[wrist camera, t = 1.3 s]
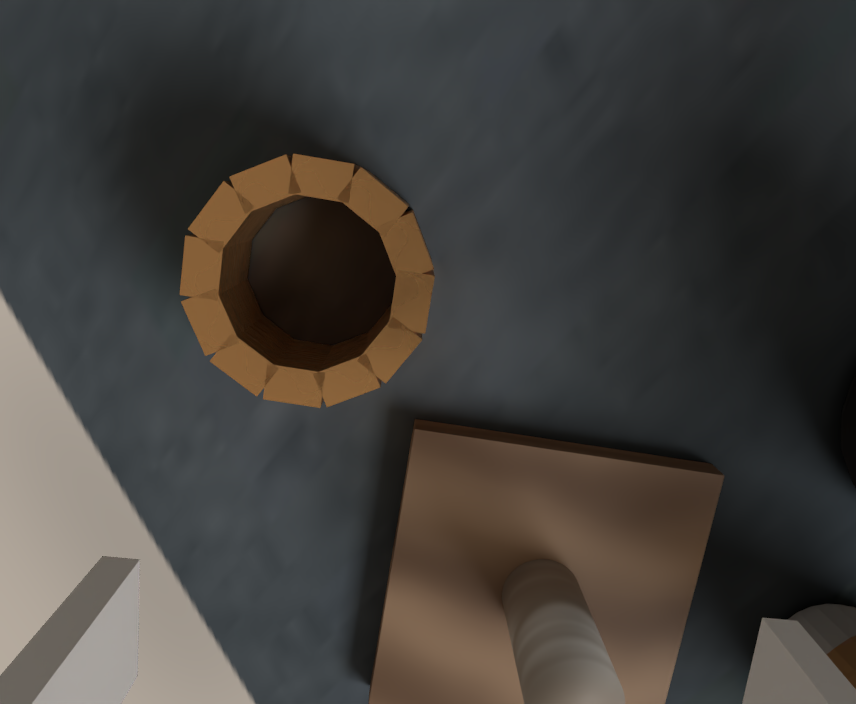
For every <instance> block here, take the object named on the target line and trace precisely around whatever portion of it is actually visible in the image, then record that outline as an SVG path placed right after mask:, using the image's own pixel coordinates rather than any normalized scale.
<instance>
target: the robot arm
mask: <svg viewBox="0 0 856 704" xmlns="http://www.w3.org/2000/svg"><path fill="white" fill-rule="evenodd" d="M139 576H140V560H138V559H128V558H118V557H107V556H102V558H101V559H100V560H99V561H98V562H97V563H96V564H95V566H94V567H93V568H92V569H91V570H90V572H89V573H88V574H87V575H86V576H85V577H84V579H83V580H82V581H81V582H80V583H79V584H78V585H77V587H76V588H75V589H74V590H73V591H72V593H71V594H70V595H69V596H68V597H67V598H66V600H65V601H64V602H63V603H62V604H61V605H60V607H59V608H58V609H57V610H56V611H55V612H54V614H53V615H52V616H51V617H50V618H49V620H48V621H47V622H46V623H45V624H44V625H43V626H42V628H41V629H40V630H39V631H38V632H37V633H36V635H35V636H34V637H33V638H32V639H31V640H30V642H29V643H28V644H27V645H26V646H25V647H24V649H23V650H22V651H21V652H20V653H19V654H18V656H17V657H16V658H15V659H14V660H13V661H12V663H11V664H10V665H9V666H8V667H7V669H6V670H5V671H4V672H3V673H2V674H1V676H0V704H121V703H122V702H123V700H124V698H125V696H126V694H127V693H128V691H129V689H130V688H131V686H132V684H133V682H134V681H135V679H136V677H137V675H138V629H139V626H138V625H139V579H140V577H139ZM742 704H856V689H855V688H854V687H853V686H852V684H851V683H850V682H849V681H848V680H847V678H846V677H845V676H844V675H843V674H842V673H841V671H840V670H839V669H838V668H837V667H836V665H835V664H834V663H833V662H832V661H831V660H830V658H829V657H828V656H827V655H826V654H825V653H824V651H823V650H822V649H821V648H820V647H819V645H818V644H817V643H816V642H815V641H814V640H813V638H812V637H811V636H810V635H809V634H808V632H807V631H806V630H805V629H804V628H803V627H802V625H801V624H800V623H799V622H798V621H794V620H783V619H773V618H762V621H761V625H760V629H759V634H758V638H757V642H756V646H755V651H754V655H753V659H752V664H751V668H750V672H749V677H748V681H747V685H746V689H745V694H744V698H743V702H742Z"/></svg>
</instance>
